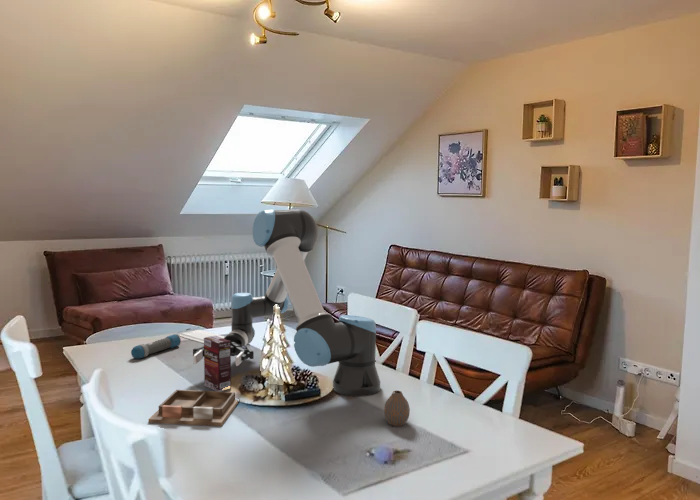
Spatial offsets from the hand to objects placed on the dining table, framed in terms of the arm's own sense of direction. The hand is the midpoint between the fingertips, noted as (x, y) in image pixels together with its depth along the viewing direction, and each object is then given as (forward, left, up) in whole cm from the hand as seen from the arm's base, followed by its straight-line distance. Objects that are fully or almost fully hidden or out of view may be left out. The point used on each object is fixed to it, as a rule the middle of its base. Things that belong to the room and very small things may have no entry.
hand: (215, 360), depth 182 cm
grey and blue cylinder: (+43, -26, -9) cm, 51 cm away
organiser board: (-5, +19, -9) cm, 21 cm away
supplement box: (0, 0, -9) cm, 9 cm away
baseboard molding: (+34, -48, -10) cm, 60 cm away
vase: (-60, +6, -9) cm, 61 cm away
